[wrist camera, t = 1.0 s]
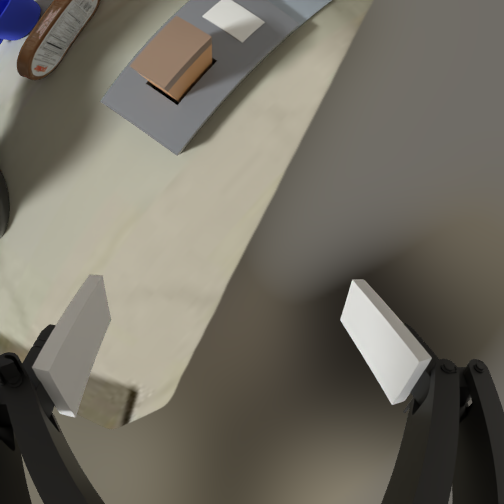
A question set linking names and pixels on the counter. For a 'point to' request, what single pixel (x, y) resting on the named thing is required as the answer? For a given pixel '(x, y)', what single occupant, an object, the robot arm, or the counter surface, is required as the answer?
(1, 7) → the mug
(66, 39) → the tin
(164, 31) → the plug
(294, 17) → the mat
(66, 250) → the counter surface
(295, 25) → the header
